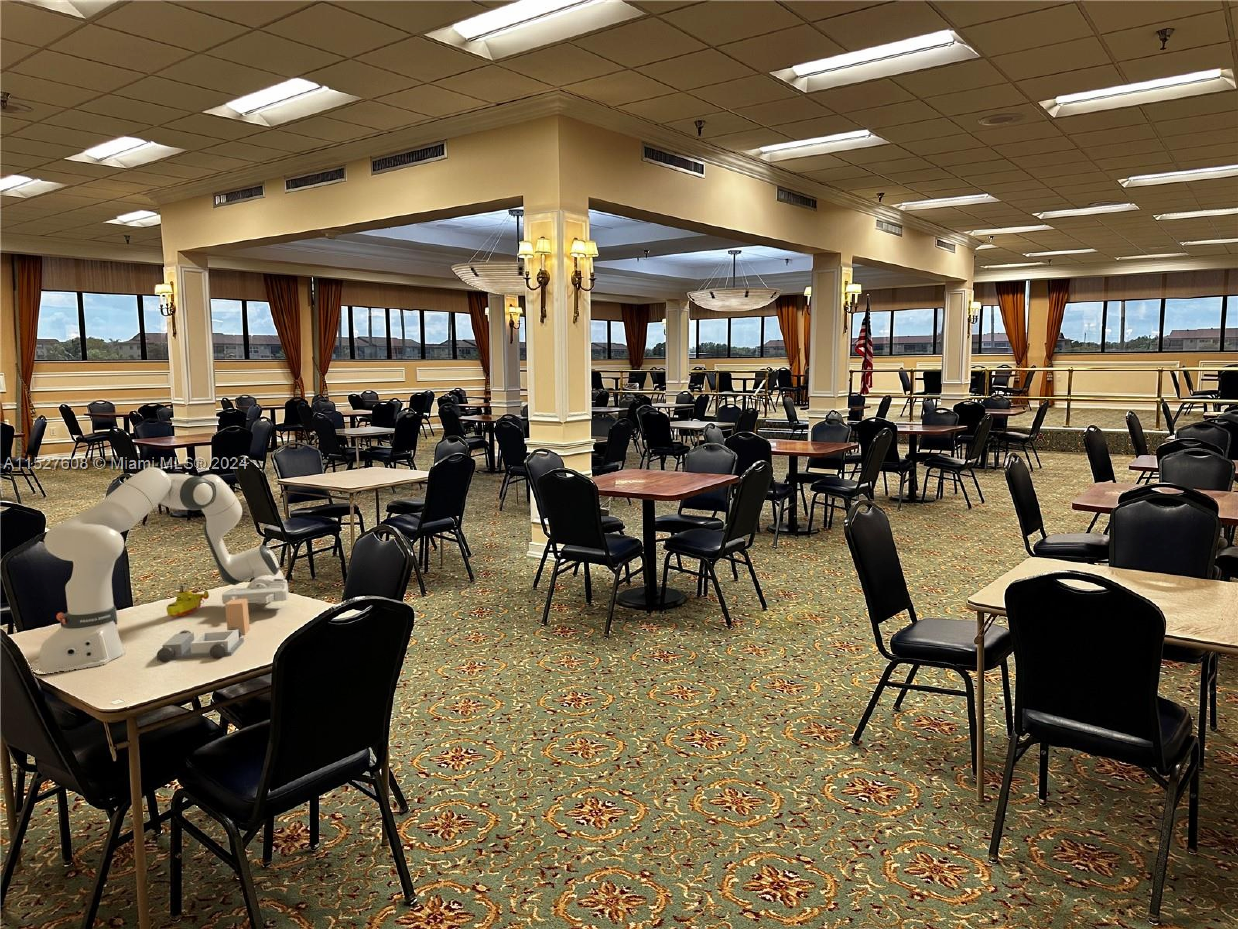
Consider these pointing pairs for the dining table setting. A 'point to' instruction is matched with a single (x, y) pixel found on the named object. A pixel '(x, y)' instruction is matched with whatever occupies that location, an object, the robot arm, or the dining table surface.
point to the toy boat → (186, 603)
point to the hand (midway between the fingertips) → (249, 602)
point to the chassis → (201, 645)
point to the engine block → (237, 615)
